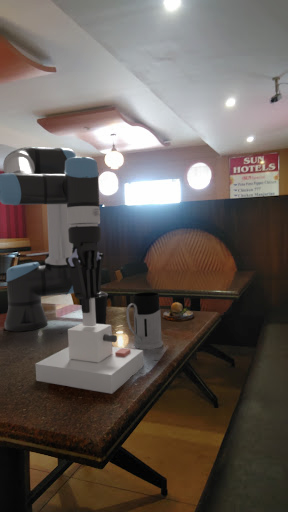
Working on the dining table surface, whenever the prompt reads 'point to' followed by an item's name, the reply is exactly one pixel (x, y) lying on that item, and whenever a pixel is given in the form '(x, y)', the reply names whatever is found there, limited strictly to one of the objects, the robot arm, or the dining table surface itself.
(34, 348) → the dining table surface
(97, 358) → the plug
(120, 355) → the socket
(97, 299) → the drinking cup
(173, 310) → the burger
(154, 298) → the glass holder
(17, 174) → the robot arm
